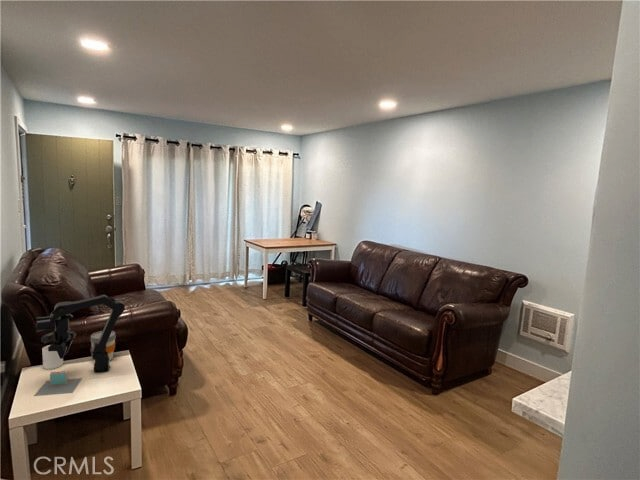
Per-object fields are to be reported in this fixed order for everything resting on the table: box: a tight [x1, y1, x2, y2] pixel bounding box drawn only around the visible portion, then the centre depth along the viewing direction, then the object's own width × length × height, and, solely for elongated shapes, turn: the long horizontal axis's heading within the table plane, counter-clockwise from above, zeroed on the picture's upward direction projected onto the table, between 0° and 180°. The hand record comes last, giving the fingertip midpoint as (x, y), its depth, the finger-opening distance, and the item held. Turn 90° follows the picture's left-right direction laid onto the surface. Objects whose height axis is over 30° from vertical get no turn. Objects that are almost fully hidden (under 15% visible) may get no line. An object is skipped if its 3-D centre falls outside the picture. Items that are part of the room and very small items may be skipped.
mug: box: [41, 344, 64, 370], centre depth 200 cm, size 12×9×11 cm
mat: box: [33, 377, 83, 397], centre depth 180 cm, size 16×14×1 cm
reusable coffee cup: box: [90, 330, 117, 361], centre depth 210 cm, size 13×13×15 cm
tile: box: [49, 370, 69, 385], centre depth 182 cm, size 7×2×6 cm, turn 106°
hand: (63, 356), depth 187 cm, fingers open, 4 cm apart
